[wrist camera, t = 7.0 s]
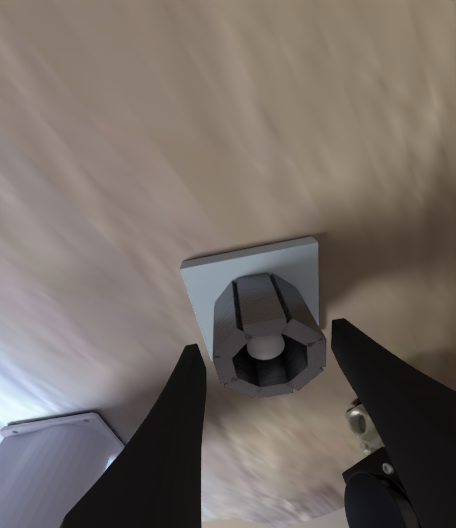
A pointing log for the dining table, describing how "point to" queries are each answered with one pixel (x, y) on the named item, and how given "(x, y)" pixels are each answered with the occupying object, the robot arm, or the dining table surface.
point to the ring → (261, 325)
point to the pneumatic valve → (374, 482)
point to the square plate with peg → (249, 263)
